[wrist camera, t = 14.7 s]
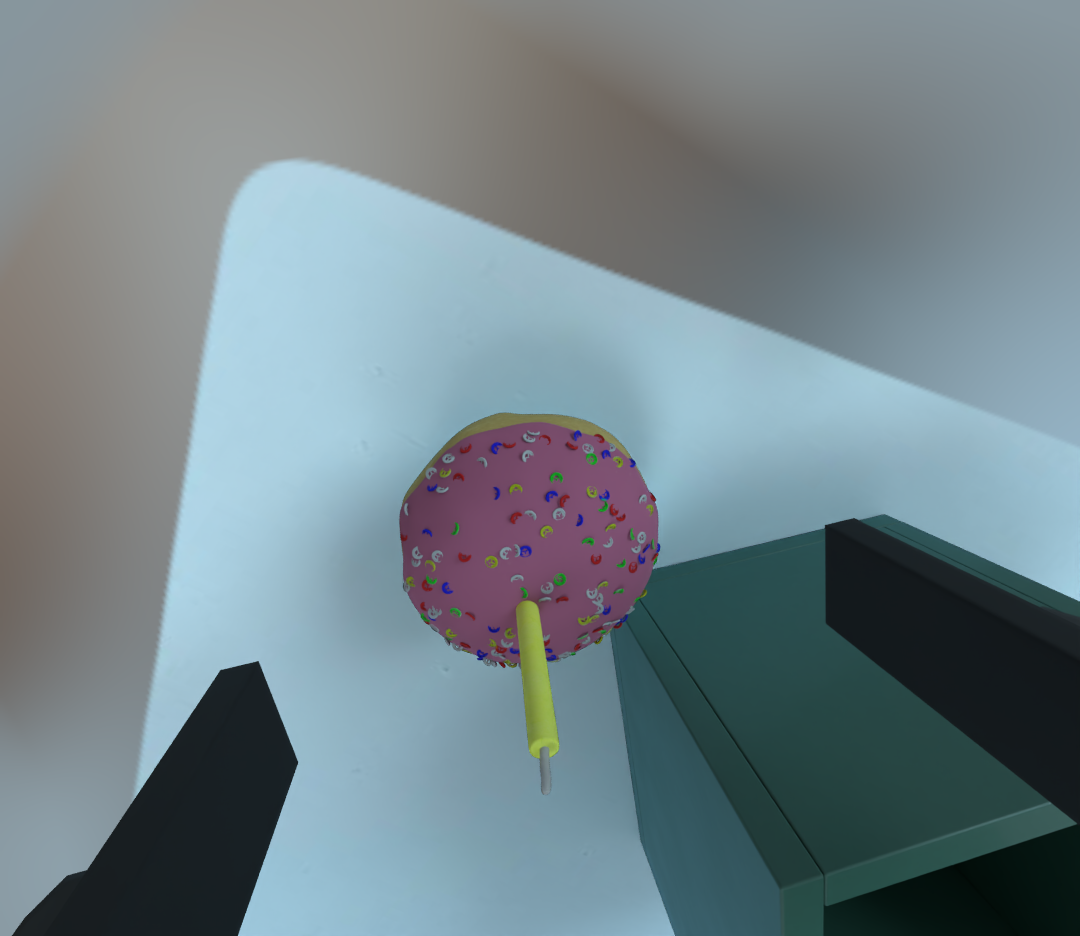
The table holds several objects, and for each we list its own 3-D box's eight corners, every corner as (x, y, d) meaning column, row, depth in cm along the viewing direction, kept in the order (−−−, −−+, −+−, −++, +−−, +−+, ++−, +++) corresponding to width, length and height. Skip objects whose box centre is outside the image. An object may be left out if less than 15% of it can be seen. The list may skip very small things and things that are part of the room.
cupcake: (567, 611, 23) (683, 899, 12) (379, 559, 21) (291, 850, 9) (647, 434, 21) (874, 568, 10) (450, 358, 19) (448, 416, 8)
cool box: (602, 581, 23) (780, 889, 10) (885, 513, 24) (1330, 713, 12) (640, 839, 28) (792, 1258, 15) (873, 769, 29) (1182, 1099, 17)
